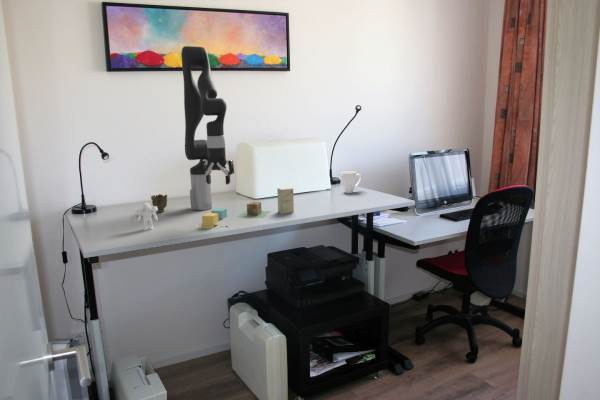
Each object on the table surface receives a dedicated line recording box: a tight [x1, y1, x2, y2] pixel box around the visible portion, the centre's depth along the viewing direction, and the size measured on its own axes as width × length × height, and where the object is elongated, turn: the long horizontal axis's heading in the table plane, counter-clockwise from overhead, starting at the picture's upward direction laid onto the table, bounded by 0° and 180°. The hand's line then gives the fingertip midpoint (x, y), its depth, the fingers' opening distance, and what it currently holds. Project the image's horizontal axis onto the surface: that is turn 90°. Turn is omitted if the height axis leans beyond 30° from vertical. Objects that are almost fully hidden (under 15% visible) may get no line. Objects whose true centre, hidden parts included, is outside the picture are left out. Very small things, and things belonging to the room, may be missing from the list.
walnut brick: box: [246, 201, 263, 215], centre depth 212 cm, size 5×5×5 cm
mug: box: [340, 170, 362, 194], centre depth 259 cm, size 12×8×11 cm
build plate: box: [237, 209, 272, 219], centre depth 212 cm, size 12×12×1 cm
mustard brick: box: [201, 212, 220, 229], centre depth 198 cm, size 5×5×5 cm
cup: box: [150, 193, 168, 213], centre depth 225 cm, size 8×7×8 cm
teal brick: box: [210, 207, 228, 220], centre depth 207 cm, size 5×5×5 cm
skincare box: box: [277, 186, 295, 215], centre depth 214 cm, size 6×4×12 cm
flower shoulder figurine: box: [134, 200, 159, 231], centre depth 195 cm, size 9×4×12 cm, turn 112°
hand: (218, 183), depth 204 cm, fingers open, 8 cm apart
